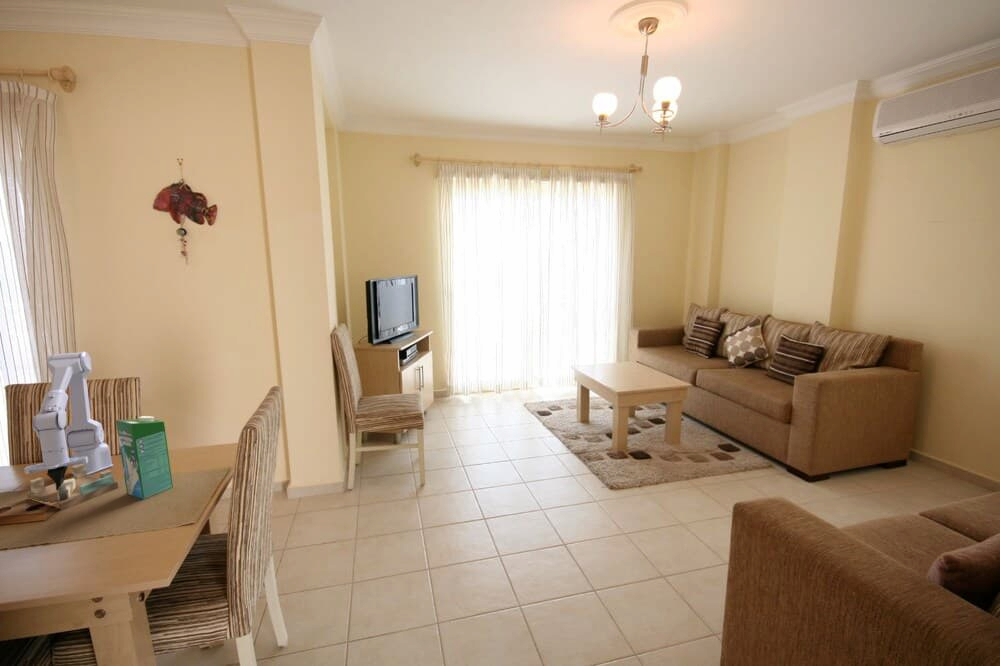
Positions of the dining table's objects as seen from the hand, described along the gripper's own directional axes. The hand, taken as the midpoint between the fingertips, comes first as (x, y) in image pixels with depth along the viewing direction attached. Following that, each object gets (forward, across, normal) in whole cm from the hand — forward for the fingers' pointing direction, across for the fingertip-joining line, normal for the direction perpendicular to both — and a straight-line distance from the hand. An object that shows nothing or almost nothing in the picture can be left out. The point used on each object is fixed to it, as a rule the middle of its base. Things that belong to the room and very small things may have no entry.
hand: (61, 489), depth 146 cm
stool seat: (+3, +2, +2) cm, 4 cm away
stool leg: (+1, +2, -2) cm, 3 cm away
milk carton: (+3, +24, -9) cm, 26 cm away
